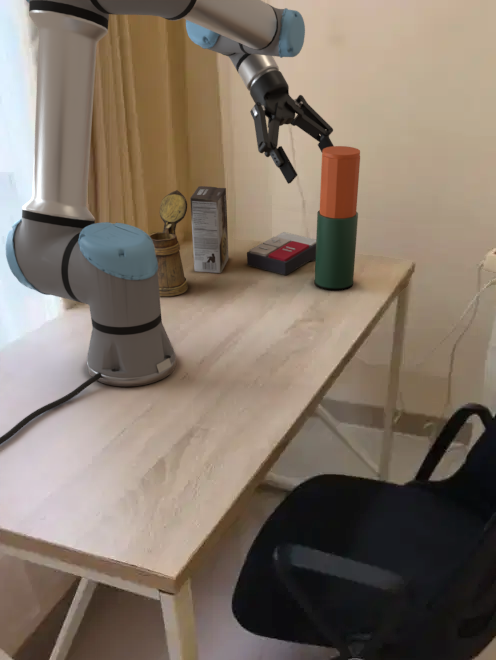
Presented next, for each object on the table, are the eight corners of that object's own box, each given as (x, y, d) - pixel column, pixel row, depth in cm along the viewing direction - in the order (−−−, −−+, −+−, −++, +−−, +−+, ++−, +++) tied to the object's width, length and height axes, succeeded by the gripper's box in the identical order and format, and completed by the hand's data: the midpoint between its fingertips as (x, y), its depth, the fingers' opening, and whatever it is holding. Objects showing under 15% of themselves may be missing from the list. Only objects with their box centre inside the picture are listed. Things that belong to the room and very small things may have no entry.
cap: (333, 220, 150) (336, 156, 143) (312, 211, 155) (315, 148, 148) (362, 215, 153) (367, 152, 146) (341, 205, 158) (345, 144, 151)
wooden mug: (202, 276, 166) (197, 191, 155) (177, 299, 155) (170, 210, 144) (165, 271, 168) (158, 187, 157) (138, 293, 157) (128, 205, 146)
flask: (328, 294, 158) (333, 206, 147) (306, 280, 164) (309, 195, 153) (361, 286, 162) (368, 200, 151) (338, 273, 168) (343, 190, 157)
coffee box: (202, 257, 175) (198, 185, 165) (229, 259, 174) (227, 186, 164) (193, 271, 168) (188, 197, 158) (221, 273, 167) (218, 198, 157)
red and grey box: (245, 249, 169) (283, 228, 178) (246, 267, 172) (283, 246, 181) (285, 259, 164) (322, 237, 173) (286, 278, 167) (321, 256, 176)
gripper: (296, 87, 163) (344, 173, 164) (210, 101, 149) (263, 195, 149) (315, 62, 157) (365, 151, 158) (227, 74, 142) (282, 172, 143)
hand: (315, 173), depth 153 cm, fingers open, 13 cm apart
